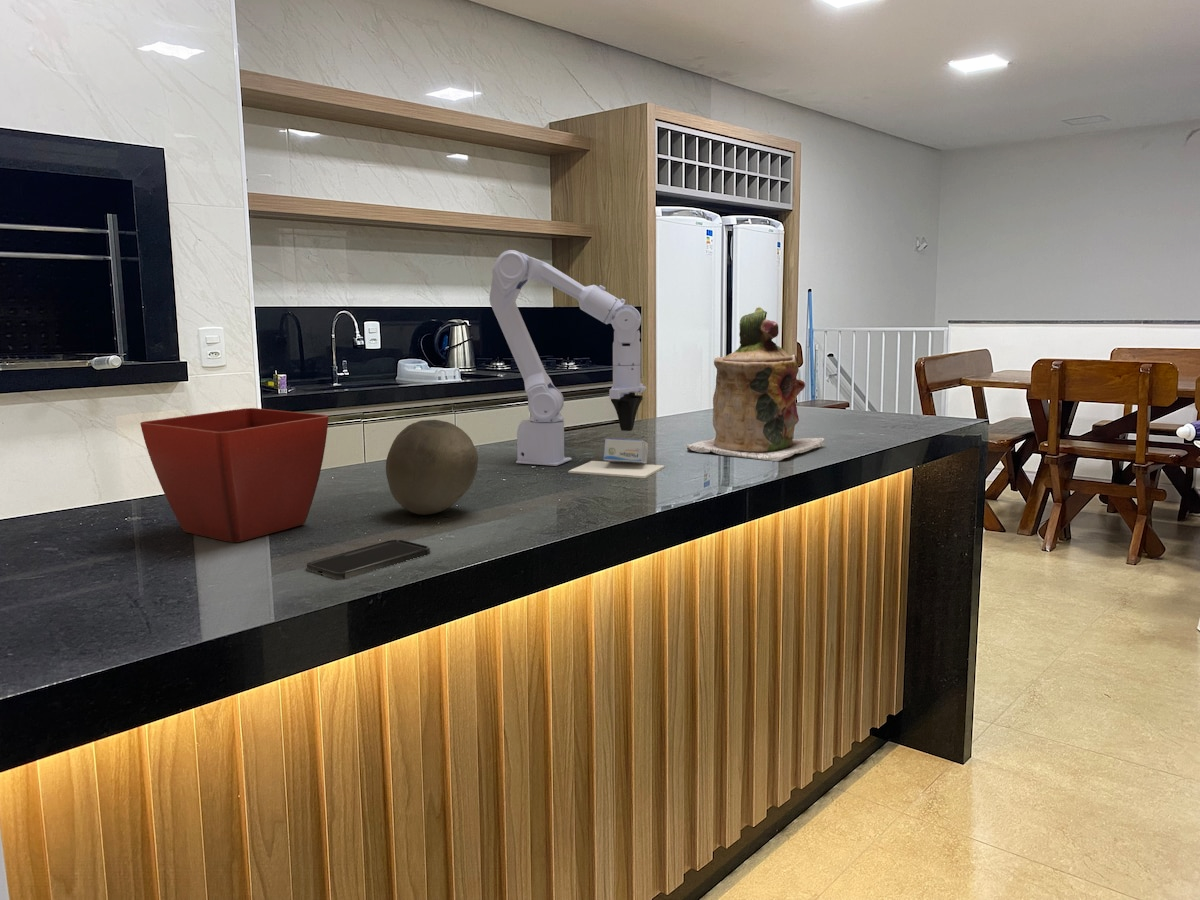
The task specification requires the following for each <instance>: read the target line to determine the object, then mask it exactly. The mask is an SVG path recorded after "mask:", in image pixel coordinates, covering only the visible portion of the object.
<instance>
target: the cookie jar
mask: <svg viewBox="0 0 1200 900" xmlns="http://www.w3.org/2000/svg"><path fill="white" fill-rule="evenodd" d="M767 315H768V311H765V310H764V309H763V308H762V307H760V306H758V307H756V308H755V311H754V312H751V313H748V314H745V315H743V316H742V317H741V318H740V321H739V334H738V335H739V336H738V337H739V344H740V345H739V347H738V348H737V349H736V350H734V351H733V352H732V353H729V354H727V355H726V356H720V357H719V356H718V357H714V359H713V365H714V367H715V369H716V376H715V388H714V394H713V397H712V414H713V415H712V426H713V429H714V431H715V436H714V437H713V438H711V439H706V440H699V441H696V442H694V443H693V442H692V443H689V444H685V448H686V451H687V452H690V451H693V452H697V453H713V454H716V455H721V456H729V457H737V458H746V459H753V460H754V459H755V460H763V461H768V460H770V462H779V461H780V462H781V461H783V460H784V459H786V458H790V457H793V456H794V455H795V454H802V453H806V452H809V451H811V450H815V449H817V448H822V447H823V445H824V442H825V438H824V437H807V438H806V437H805V438H793V436H794V433H795V427H796V425H797V424H798V423H799V421H800V419H799V415H798V407H797V404H796V397H797V396H798V395H799V394H800V393H801V392H802V391H804V389H805V387H806V383H805V382H804V381H803V379H797V377H798V376H797V375H798V373H799V369H800V368H799V360H798V357H797V355H796V354H792V355H791V354H790V355H789V354H788V353H787V352H786V351H785V349H784V348H783V347H781V346H779V345H777V344H776V342H774V341H773V340H774V338H777V337H778V335H779V324H778V322H776V321H773V320H769V319H767Z"/></svg>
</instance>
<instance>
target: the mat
mask: <svg viewBox="0 0 1200 900" xmlns="http://www.w3.org/2000/svg"><path fill="white" fill-rule="evenodd" d="M664 468H666V466H665V465H660V464H648V463H647V464H642V463H621V462H609V461H602V460H601V461H600V460H599V461H598V460H590V461H588V462H586V463H583V464H581V465H579V466H576V467H574V468H572V469H570V470H568V471H567V473H568V474H579V475H581V474H582V475H595V476H606V477H607V476H608V477H623V478H634V479H636V478H637V479H646V478H649V477H650V476H652V475H653V474H655V473H658V472H659V471H661V470H663V469H664Z"/></svg>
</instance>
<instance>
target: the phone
mask: <svg viewBox="0 0 1200 900" xmlns="http://www.w3.org/2000/svg"><path fill="white" fill-rule="evenodd" d="M428 554H429V555H430V554H431V547H430V546H428V545H424V544H420V543H415V542H411V541H407V540H403V539H390V540H386V541H382V542H380V543H376V544H375V543H374V544H371V545H367V546H364V547H359V548H357V549H352V550H348V551H344V552H341V553H336V554H334V555H330V556H327V557H323V558H319V559H315V560H312V561H308V562H306V570H307V571H309V572H311V571H312V572H311V573H314V572H315V573H314V574H317V573H318V575H321V574H322V575H321V576H324V575H325V576H324V577H328V578H331V577H332V578H331V579H334V578H336V579H335V580H346V579H350V577H351V578H353V576H354V577H358V576H360V574H361V575H364V574H367V573H366V572H368V573H371V572H374V571H373V570H375V571H377V570H376V569H378V570H381V569H380V568H382V569H384V567H385V568H387V566H388V567H391V566H390V565H392V566H394V564H395V565H398V564H397V563H399V564H401V563H400V562H402V563H404V562H403V561H405V562H407V561H406V560H409V561H411V560H410V559H412V560H414V559H413V558H416V559H418V558H417V557H419V558H421V557H420V556H422V557H425V556H424V555H426V556H428ZM370 571H371V572H370ZM363 573H364V574H363ZM357 575H358V576H357Z"/></svg>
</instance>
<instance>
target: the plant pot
mask: <svg viewBox="0 0 1200 900" xmlns="http://www.w3.org/2000/svg"><path fill="white" fill-rule="evenodd" d="M140 427H141V432H142V436H143V440H144V444H145V446H146V450H147V453H148V456H149V459H150V461H151V464H152V466H153V467H152V468H153V469H154V471H155V475H156V477H157V479H158V483H159V484H160V487H161V489H162V490H163V493H164V495H165V498H166V500H167V502H168V505H170V508H171V510H172V511H173V514H174V516H175V518H176V519H177V521H178V523H179V525H180V526H181V528H182V531H183V532H185V533H188V534H192V535H197V536H202V537H206V538H209V539H214V540H219V541H224V542H230V543H241V542H245V541H249V540H252V539H256V538H260V537H262V536H266V535H270V534H273V533H277V532H281V531H285V530H289V529H292V528H295V527H299V526H303V525H305V524H306V521H307V519H308V515H309V513H310V510H311V507H312V504H313V500H314V497H315V494H316V491H317V486H318V483H319V481H320V475H321V472H322V471H321V469H322V465H323V460H324V456H325V448H326V444H327V443H326V442H327V434H328V427H329V415H327V414H320V413H319V414H317V413H307V412H299V411H288V410H287V411H286V410H277V409H270V408H269V409H267V408H266V409H265V408H258V407H256V408H255V407H249V408H248V407H245V408H241V409H239V408H238V409H231V410H223V411H216V412H215V411H214V412H207V413H200V414H192V415H184V416H183V415H182V416H177V417H176V416H175V417H169V418H168V417H167V418H162V419H155V420H154V419H153V420H147V421H146V420H145V421H141V422H140Z"/></svg>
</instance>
